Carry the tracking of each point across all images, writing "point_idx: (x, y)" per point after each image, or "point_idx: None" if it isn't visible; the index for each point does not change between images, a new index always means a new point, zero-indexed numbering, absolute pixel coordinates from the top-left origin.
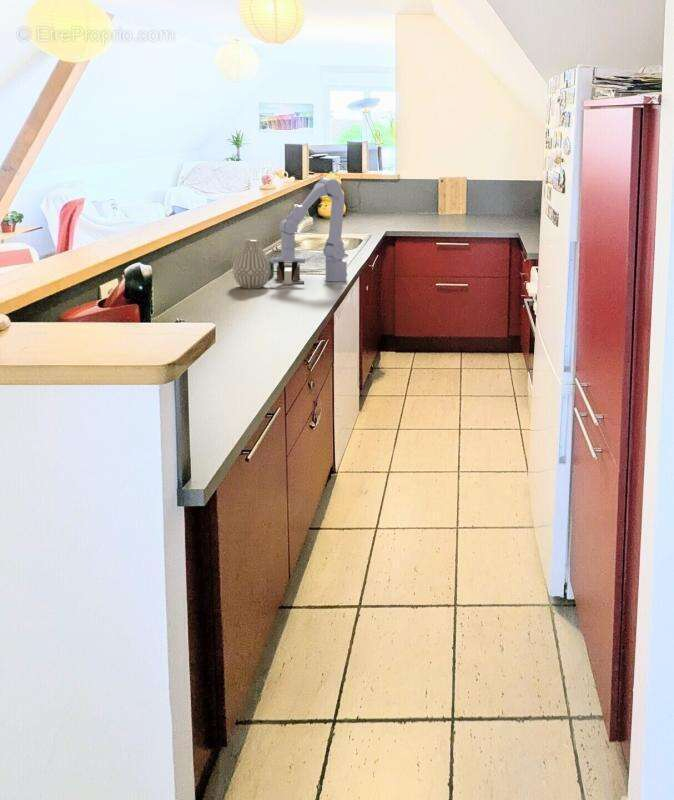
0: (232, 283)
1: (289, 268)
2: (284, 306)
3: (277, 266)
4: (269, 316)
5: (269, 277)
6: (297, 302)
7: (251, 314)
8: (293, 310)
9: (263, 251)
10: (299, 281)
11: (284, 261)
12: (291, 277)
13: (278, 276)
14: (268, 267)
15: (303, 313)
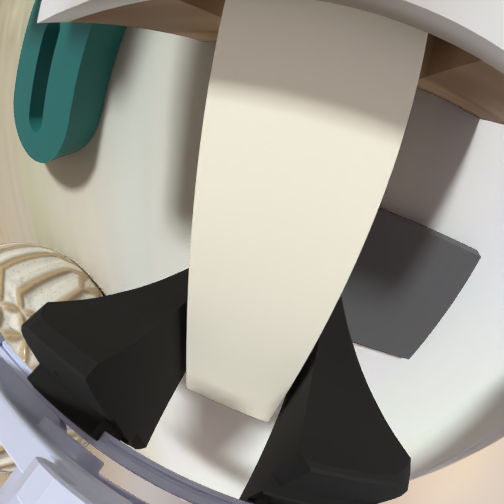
0: (10, 179)
1: (323, 180)
2: (210, 476)
3: (75, 21)
4: (187, 477)
5: None
6: (240, 480)
7: (162, 463)
8: (224, 487)
9: (6, 472)
10: (417, 278)
11: (108, 455)
12: None
13: (198, 35)
14: (88, 444)
15: (237, 495)
